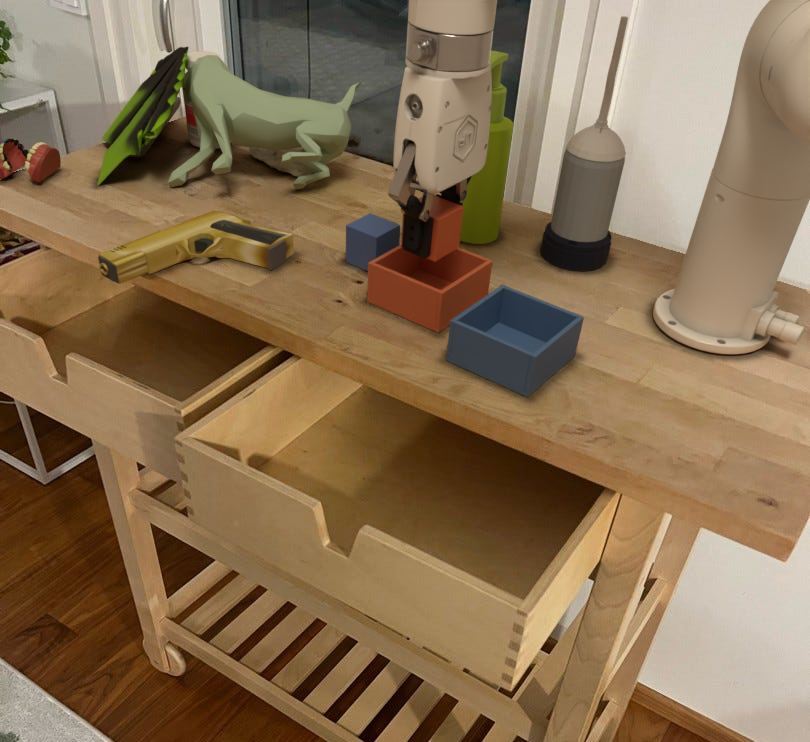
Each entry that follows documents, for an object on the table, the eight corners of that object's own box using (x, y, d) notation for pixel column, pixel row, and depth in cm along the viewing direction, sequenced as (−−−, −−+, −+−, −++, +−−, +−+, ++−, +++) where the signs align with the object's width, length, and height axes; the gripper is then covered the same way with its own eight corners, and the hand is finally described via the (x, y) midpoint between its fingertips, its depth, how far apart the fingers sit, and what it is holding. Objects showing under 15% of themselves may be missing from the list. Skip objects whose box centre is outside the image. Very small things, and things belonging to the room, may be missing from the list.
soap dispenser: (439, 239, 101) (455, 56, 87) (462, 218, 105) (482, 41, 91) (482, 251, 99) (506, 67, 85) (505, 230, 104) (531, 52, 90)
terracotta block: (459, 247, 87) (463, 206, 84) (434, 262, 84) (439, 219, 81) (425, 234, 88) (428, 193, 85) (400, 247, 86) (403, 206, 83)
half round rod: (156, 106, 126) (163, 117, 128) (121, 150, 112) (130, 162, 113) (179, 93, 125) (186, 105, 126) (147, 136, 111) (155, 148, 112)
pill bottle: (238, 137, 120) (231, 51, 112) (225, 152, 116) (217, 65, 108) (196, 132, 121) (187, 47, 113) (182, 147, 116) (171, 59, 108)
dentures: (36, 147, 102) (-21, 144, 103) (47, 183, 104) (-9, 179, 106) (61, 134, 106) (5, 132, 107) (70, 169, 109) (16, 166, 110)
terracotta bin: (487, 298, 91) (493, 260, 88) (438, 333, 86) (442, 293, 83) (418, 270, 95) (421, 232, 92) (367, 301, 90) (367, 262, 86)
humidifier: (607, 244, 103) (663, 12, 85) (606, 275, 97) (666, 33, 79) (542, 235, 103) (584, 3, 86) (537, 265, 98) (581, 23, 80)
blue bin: (575, 356, 84) (584, 316, 81) (527, 397, 79) (535, 357, 75) (496, 323, 88) (502, 284, 85) (445, 360, 82) (450, 320, 79)
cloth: (165, 46, 115) (179, 59, 117) (75, 175, 116) (90, 187, 118) (214, 41, 100) (229, 57, 101) (110, 190, 101) (127, 203, 102)
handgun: (299, 236, 94) (228, 203, 99) (165, 294, 83) (92, 253, 88) (300, 257, 96) (230, 223, 101) (168, 316, 85) (97, 275, 90)
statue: (373, 204, 116) (349, 70, 117) (378, 151, 103) (351, 2, 105) (180, 227, 113) (158, 90, 115) (160, 176, 100) (136, 22, 102)
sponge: (243, 151, 115) (254, 122, 114) (266, 163, 119) (277, 134, 118) (301, 183, 110) (313, 152, 109) (323, 194, 114) (335, 164, 113)
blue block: (398, 261, 96) (400, 224, 93) (375, 274, 94) (376, 237, 91) (369, 249, 98) (370, 212, 95) (345, 262, 96) (345, 225, 92)
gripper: (427, 78, 67) (411, 286, 80) (533, 39, 77) (503, 230, 90) (355, 56, 69) (351, 260, 82) (466, 21, 79) (447, 209, 92)
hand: (430, 243), depth 86 cm, fingers closed on terracotta block, 4 cm apart
